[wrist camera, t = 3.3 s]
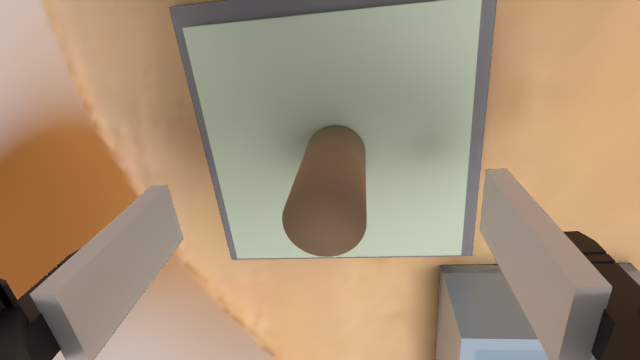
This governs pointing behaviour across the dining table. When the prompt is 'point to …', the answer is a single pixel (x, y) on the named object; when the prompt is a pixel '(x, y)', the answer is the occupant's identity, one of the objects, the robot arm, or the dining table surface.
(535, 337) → the open box
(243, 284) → the dining table surface
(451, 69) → the lid
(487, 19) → the mat
